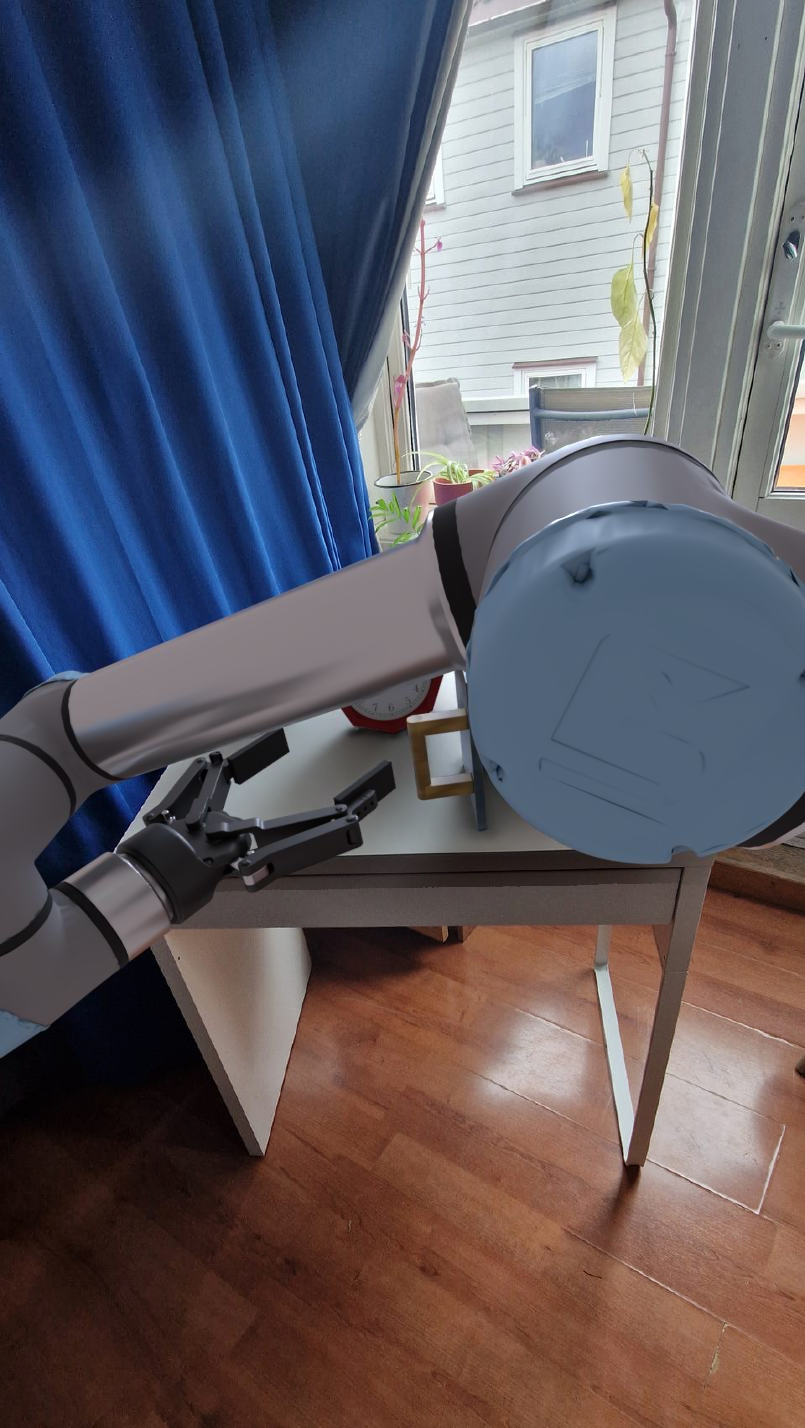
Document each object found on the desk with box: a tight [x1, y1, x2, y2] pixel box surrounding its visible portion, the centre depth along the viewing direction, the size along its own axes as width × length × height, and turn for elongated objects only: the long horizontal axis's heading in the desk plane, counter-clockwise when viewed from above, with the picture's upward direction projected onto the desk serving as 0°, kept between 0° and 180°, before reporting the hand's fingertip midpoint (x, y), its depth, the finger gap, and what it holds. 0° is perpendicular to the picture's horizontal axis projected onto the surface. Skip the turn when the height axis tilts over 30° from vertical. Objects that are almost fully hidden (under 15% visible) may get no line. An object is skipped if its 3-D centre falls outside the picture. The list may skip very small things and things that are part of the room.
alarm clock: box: [340, 674, 445, 734], centre depth 91 cm, size 15×9×20 cm, turn 97°
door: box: [406, 670, 488, 831], centre depth 76 cm, size 7×14×17 cm, turn 3°
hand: (334, 755), depth 66 cm, fingers open, 13 cm apart
